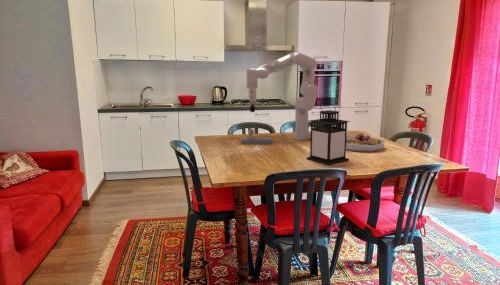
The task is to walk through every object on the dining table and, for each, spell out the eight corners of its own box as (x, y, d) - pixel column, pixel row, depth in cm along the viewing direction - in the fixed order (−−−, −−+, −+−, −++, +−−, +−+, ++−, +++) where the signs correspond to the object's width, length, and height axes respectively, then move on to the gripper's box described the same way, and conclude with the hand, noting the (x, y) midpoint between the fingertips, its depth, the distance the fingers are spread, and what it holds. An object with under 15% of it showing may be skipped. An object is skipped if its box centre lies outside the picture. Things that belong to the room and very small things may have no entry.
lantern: (348, 160, 213) (351, 100, 206) (328, 165, 203) (331, 102, 196) (326, 155, 227) (328, 98, 220) (306, 159, 217) (308, 100, 210)
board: (271, 141, 271) (271, 137, 271) (272, 144, 261) (272, 139, 260) (242, 141, 272) (242, 137, 271) (241, 144, 261) (241, 139, 261)
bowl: (387, 153, 230) (388, 141, 229) (338, 152, 236) (339, 140, 235) (380, 144, 259) (381, 133, 257) (337, 142, 265) (337, 132, 263)
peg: (254, 141, 268) (254, 128, 266) (254, 143, 264) (254, 129, 262) (248, 142, 268) (248, 128, 266) (248, 143, 264) (248, 129, 262)
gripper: (257, 86, 252) (257, 113, 256) (257, 85, 266) (257, 110, 270) (246, 86, 252) (247, 113, 256) (247, 85, 267) (247, 110, 270)
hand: (252, 111), depth 263 cm, fingers closed
